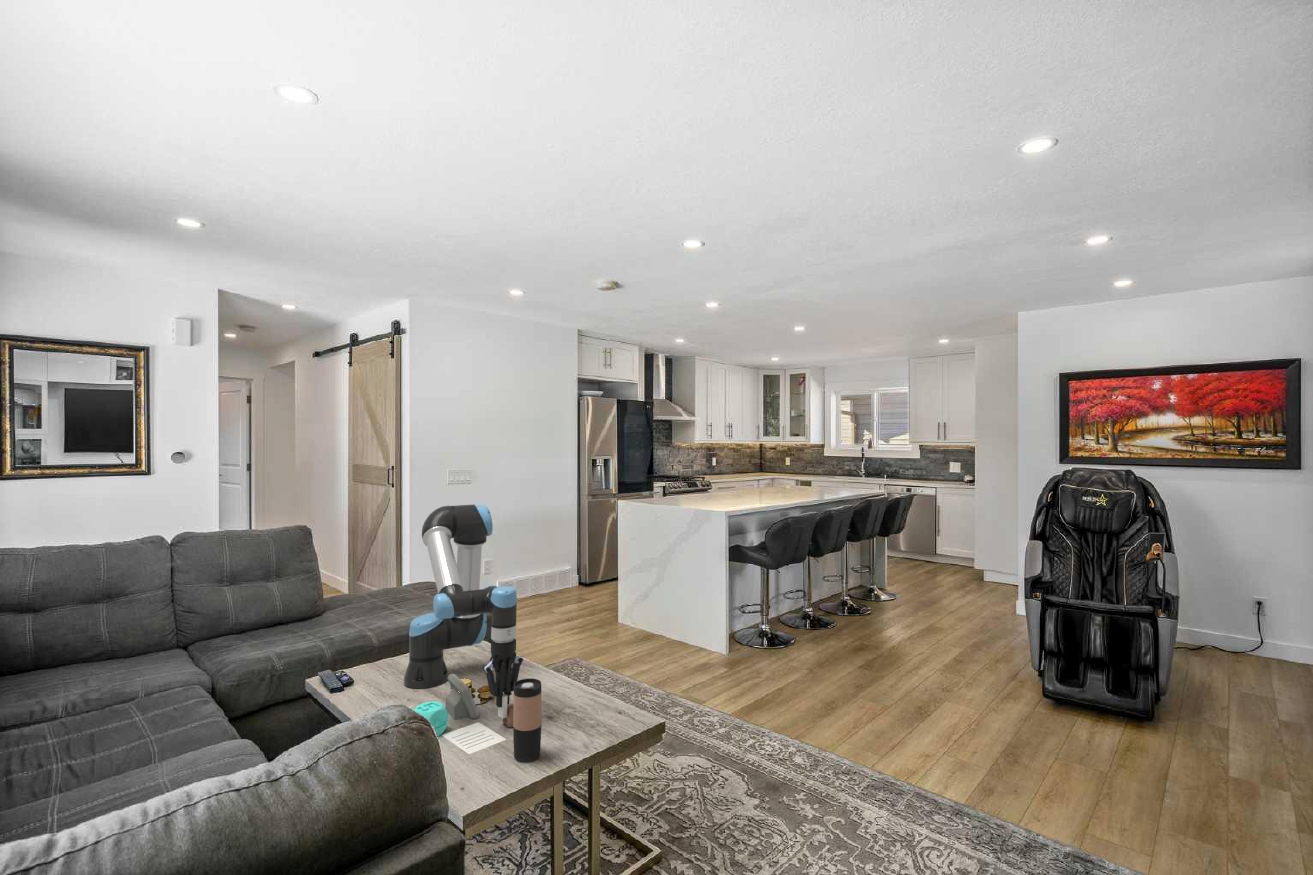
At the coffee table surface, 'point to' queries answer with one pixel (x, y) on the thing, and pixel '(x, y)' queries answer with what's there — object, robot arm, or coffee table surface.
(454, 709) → the grey angular piece
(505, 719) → the walnut block
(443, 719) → the decorative dice
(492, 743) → the letter
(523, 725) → the travel mug
